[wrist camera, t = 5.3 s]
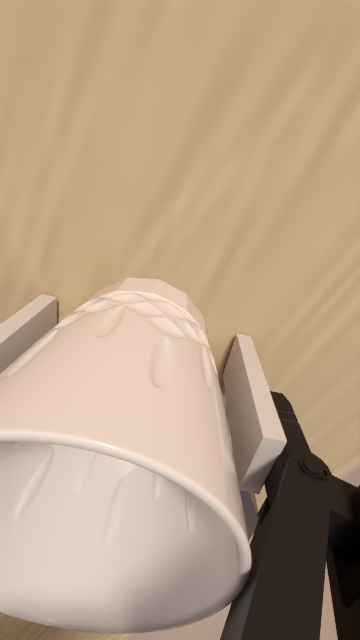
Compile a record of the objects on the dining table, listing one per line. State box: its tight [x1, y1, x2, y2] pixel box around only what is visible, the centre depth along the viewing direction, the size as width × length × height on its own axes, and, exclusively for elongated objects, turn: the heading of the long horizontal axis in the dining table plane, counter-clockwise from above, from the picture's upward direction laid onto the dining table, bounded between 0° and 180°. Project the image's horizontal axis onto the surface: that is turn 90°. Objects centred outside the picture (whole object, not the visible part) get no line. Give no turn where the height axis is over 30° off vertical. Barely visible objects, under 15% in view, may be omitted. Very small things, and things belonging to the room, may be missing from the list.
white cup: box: [0, 278, 252, 634], centre depth 11 cm, size 8×8×10 cm
